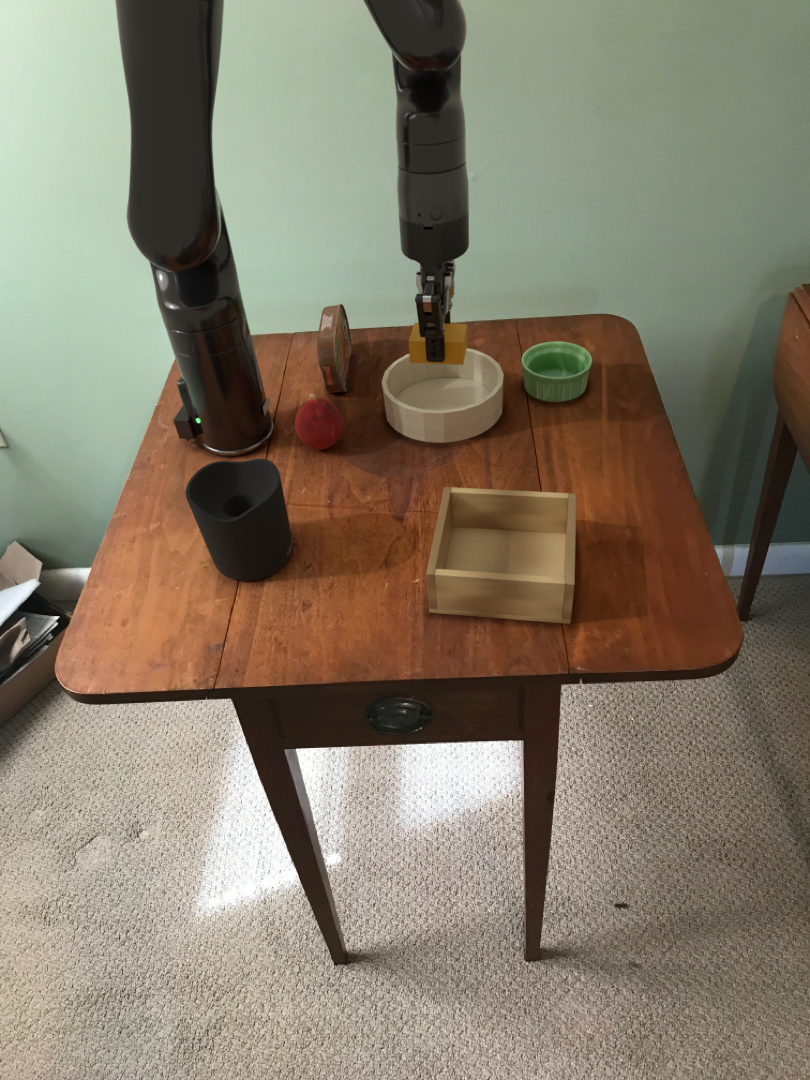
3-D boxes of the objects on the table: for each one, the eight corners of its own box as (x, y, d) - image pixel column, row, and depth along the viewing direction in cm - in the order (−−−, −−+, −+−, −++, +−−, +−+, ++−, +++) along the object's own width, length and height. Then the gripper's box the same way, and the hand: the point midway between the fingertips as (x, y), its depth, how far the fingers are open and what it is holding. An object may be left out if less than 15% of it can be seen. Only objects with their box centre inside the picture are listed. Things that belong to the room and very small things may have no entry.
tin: (346, 404, 103) (337, 348, 97) (323, 405, 103) (312, 349, 97) (354, 346, 114) (346, 292, 108) (333, 347, 114) (324, 294, 108)
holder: (429, 612, 76) (425, 573, 72) (446, 525, 84) (444, 486, 80) (570, 624, 73) (574, 584, 69) (572, 533, 82) (576, 493, 78)
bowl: (375, 443, 96) (371, 410, 93) (397, 377, 107) (393, 345, 103) (497, 448, 93) (497, 414, 90) (507, 380, 104) (507, 347, 101)
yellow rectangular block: (409, 363, 93) (408, 341, 91) (415, 344, 96) (414, 322, 94) (463, 365, 92) (462, 342, 90) (467, 345, 95) (467, 323, 93)
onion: (353, 438, 97) (345, 383, 92) (336, 465, 93) (326, 411, 88) (311, 432, 99) (301, 378, 93) (293, 459, 95) (280, 404, 90)
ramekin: (569, 363, 106) (572, 335, 103) (602, 397, 99) (605, 367, 96) (509, 379, 104) (510, 350, 101) (538, 414, 98) (540, 384, 95)
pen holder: (250, 599, 79) (226, 528, 72) (193, 560, 83) (166, 490, 77) (315, 547, 83) (299, 476, 77) (258, 513, 88) (238, 443, 81)
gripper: (410, 182, 88) (418, 320, 99) (386, 234, 78) (398, 380, 89) (475, 182, 86) (475, 322, 98) (460, 234, 76) (462, 383, 88)
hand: (438, 349), depth 94 cm, fingers closed on yellow rectangular block, 4 cm apart
